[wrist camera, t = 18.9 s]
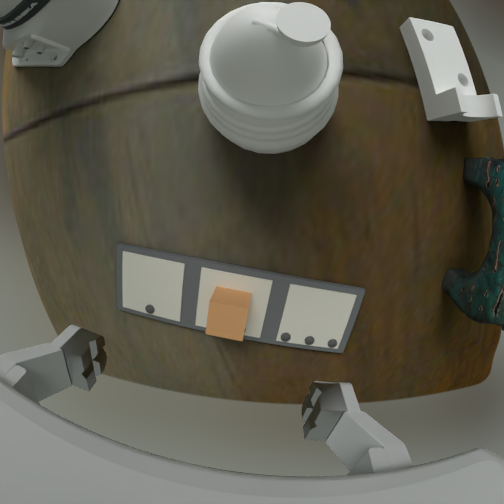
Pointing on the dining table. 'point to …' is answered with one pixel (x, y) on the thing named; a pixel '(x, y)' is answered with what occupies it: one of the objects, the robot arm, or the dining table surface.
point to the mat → (244, 279)
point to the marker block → (228, 313)
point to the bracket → (445, 74)
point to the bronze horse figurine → (498, 257)
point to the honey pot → (270, 75)
